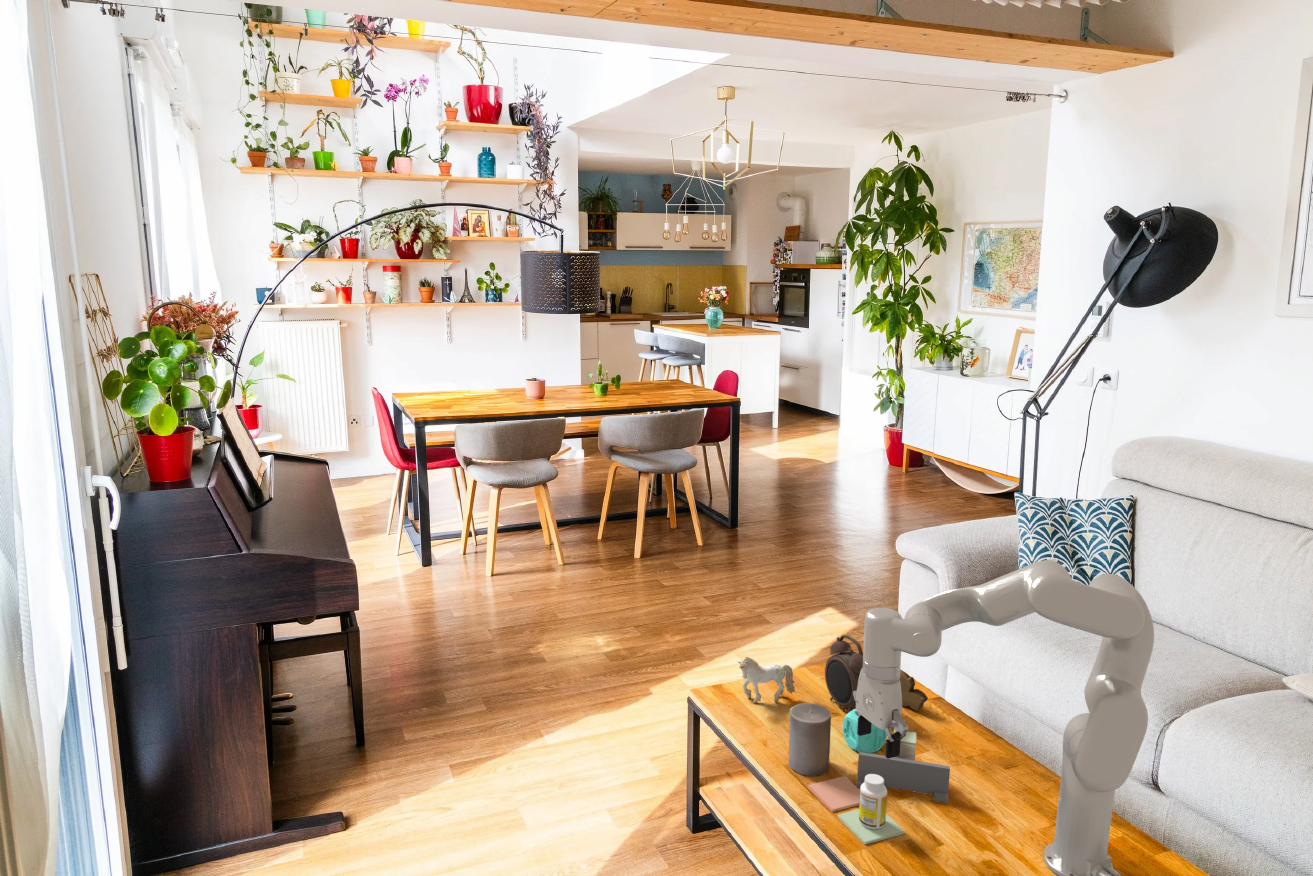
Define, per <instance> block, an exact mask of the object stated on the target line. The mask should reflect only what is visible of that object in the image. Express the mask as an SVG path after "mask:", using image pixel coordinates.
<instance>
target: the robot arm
mask: <svg viewBox="0 0 1313 876" xmlns="http://www.w3.org/2000/svg"><path fill="white" fill-rule="evenodd" d="M1034 613H1037V614H1038V616H1041V617H1042V618H1045V619H1047V620H1049V621H1052V622H1055V623H1058V624H1060V625H1063V626H1067V627H1070V628H1073V629H1076V630H1079V631H1083V632H1086V633H1089V634H1092V635H1095V636H1098V637H1101V642H1100V644H1099V645H1100V646H1099V649H1098V653H1097V655H1096V658H1095V660H1094V664H1093V666H1092V669H1091V672H1090V674H1089V677H1088V678H1087V681H1086V683H1085V687H1084V693H1083V695H1084V700H1085V704H1086V707H1087V710H1088V712H1087V713H1086V712H1085V713H1079V714H1077V715H1075V716H1074V717H1072V718H1071V719H1070V720H1069V721H1068V723H1067V724H1066V726H1065V729H1064V731H1063V737H1062V739H1063V740H1062V764H1061V773H1060V774H1061V776H1060V785H1059V792H1058V800H1057V801H1058V802H1057V809H1056V820H1055V828H1054V837H1053V842H1051V843H1049V844H1048V845H1047V846H1045V848H1044V851H1043V853H1044V854H1043V858H1044V862H1045V864H1046V866H1047V867H1048V868H1049V869H1050V870H1051V871H1052V872H1053V873H1054V874H1055V875H1057V876H1122V874H1121V873H1120V872H1118V870H1116V869H1114V867H1113V864H1112V856H1111V855H1109V854H1108V847H1109V840H1110V832H1111V824H1112V816H1113V807H1114V800H1115V794H1116V790H1118V789H1119V788H1120V787H1122V786H1123V785H1124V784H1125V783H1126V781H1127V780H1128V778H1129V777H1130V774H1131V772H1132V770H1133V767H1134V764H1135V762H1136V760H1137V757H1138V754H1139V752H1140V749H1141V747H1142V745H1143V742H1144V739H1145V737H1146V733H1147V729H1148V725H1149V713H1148V708H1147V706H1146V704H1145V701H1144V699H1143V695H1142V687H1143V682H1144V679H1145V677H1146V674H1147V670H1148V668H1149V664H1150V661H1151V657H1152V655H1153V649H1154V644H1155V643H1154V642H1155V628H1154V622H1153V618H1152V615H1151V614H1152V613H1151V611H1150V610H1149V607H1148V605H1147V602H1146V600H1145V599H1144V598H1143V596H1142V594H1141V593H1140V592H1139V591H1138V590H1137V588H1136V587H1134V585H1132V584H1131V583H1130V582H1129V581H1127V579H1125V578H1123V577H1122V576H1119V575H1117V574H1114V573H1112V574H1111V573H1103V574H1100V575H1097V576H1096V577H1094V578H1093V579H1092V580H1091V581H1090V582H1089V584H1088V585H1087V584H1085V583H1081V582H1078V581H1075V580H1073V578H1072V576H1071V575H1070V573H1069V571H1068V570H1067V569H1066V568H1065V567H1064V566H1063V565H1062V564H1061V563H1059V562H1057V561H1055V560H1050V559H1045V560H1038V561H1036V562H1034V563H1030V564H1028V565H1026V566H1024V567H1021V568H1019V569H1016V570H1013V571H1011V572H1009V573H1006V574H1003V575H1001V576H998V577H996V578H994V579H992V580H989V581H987V582H984V583H982V584H978V585H973V586H966V587H962V588H954V589H950V590H946V591H944V592H940V593H937V594H935V595H933V596H930V597H929V598H925V599H923V600H921V601H919V602H916V603H915V604H914V605H912V606H911V607H910V608H908V610H907V611H906V612H905V615H904V618H903V617H902V615H901V613H900V612H898V611H897V610H894V609H892V608H888V607H874V608H871V609H868V611H867V612H866V613H865V616H864V623H863V624H864V625H863V626H864V628H863V648H862V652H863V668H862V669H861V671H860V675H859V679H858V685H857V690H856V691H853V695H854V700H855V706H856V707H855V709H856V710H857V712H856V715H857V717H859V718H858V726H857V734H858V735H859V736H862V735H866V734H870V733H871V725H872V724H874V725H875V726H876V727H878V728H879V729H881V730H884V729H885V731H886V734H887V738H886V741H885V753H884V756H885V757H886V758H888V759H889V758H893V757H897V756H899V755H900V740H901V739H903V737H905V736H906V732H907V731H908V732H909V726H908V724H907V722H906V721H905V719H904V718H903V706H902V694H901V684H900V680H899V679H900V669H901V665H902V663H901V661H902V660H901V659H902V653H906V654H909V655H912V656H914V657H915V656H916V657H923V658H925V657H926V658H927V657H931V656H933V655H935V654H937V652H938V651H939V649H940V648H941V645H942V640H943V639H942V638H943V637H942V636H943V633H942V632H943V631H946V630H948V629H951V628H954V627H955V626H959V625H962V624H964V623H965V624H967V623H971V622H979V623H984V624H987V625H990V626H992V627H993V626H995V627H1000V626H1003V625H1007V624H1008V623H1012V622H1014V621H1015V620H1019V619H1022V618H1023V617H1026V616H1028V615H1031V614H1034ZM892 728H894V729H895V733H894V732H892V730H891V729H892ZM894 729H893V730H894Z"/></svg>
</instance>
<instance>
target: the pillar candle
mask: <svg viewBox="0 0 1313 876" xmlns="http://www.w3.org/2000/svg"><path fill="white" fill-rule="evenodd" d="M831 724H832V714H831V711H830V710H829V709H828V708H827V707H825V706H823V705H821V704H818V703H812V702H803V703H802V702H801V703H797V704H795V705H794V706H792V707H790V709H789V734H788V735H789V737H788V766H789V768H790V769H792V770H793V771H794V772H796V774H800V775H803V776H808V777H815V776H820V775H823V774H826V773H827V772H828V771H829V769H830V753H831V752H830V750H831V729H832V728H831V726H832V725H831Z"/></svg>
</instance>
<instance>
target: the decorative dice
mask: <svg viewBox="0 0 1313 876" xmlns="http://www.w3.org/2000/svg"><path fill="white" fill-rule="evenodd" d="M856 712H857V710H856V708H854V709H851V711H850V712H849V711H848V713H847V714H846V715H845V716H844V718H843V721H842V726H841V727H842V733H843V734H842V735H843V738H844V740H845V743H846V744H847V746H848V747H849V748H850V749H851V748H852V749H851V750H853V749H854V750H853V751H855V750H856V751H855V752H857V751H858V753H859V752H864V753H870V754H874V753H876V752H877V751H879V750H880V749H882V748H883V746H884V745H885V744H886V740H887V739H888V737H887V734H886V731H885V729H884V730H881V729H879V728H878V727H876V726H875V725H874V724H872V725H871V733H870V734H866V735H862V736H859V735H858V734H857V726H858V718H859V717H857V715H856Z"/></svg>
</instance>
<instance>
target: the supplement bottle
mask: <svg viewBox="0 0 1313 876" xmlns="http://www.w3.org/2000/svg"><path fill="white" fill-rule="evenodd" d="M859 790H860V805H858V806H859V821H860V823H861V824H862V825H863V826H865V827H867V828H870V829H880V828H882V827H883V826H884V825H885V822H886V814H887V804H888V803H887V802H888V801H887V800H888V789H887V787H885V786H884V779H883V778H882V777H881V776H879V775H876V774H868V775H866V776H865V781H864V783H863V784H862V785H861V787H860V788H859Z"/></svg>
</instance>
